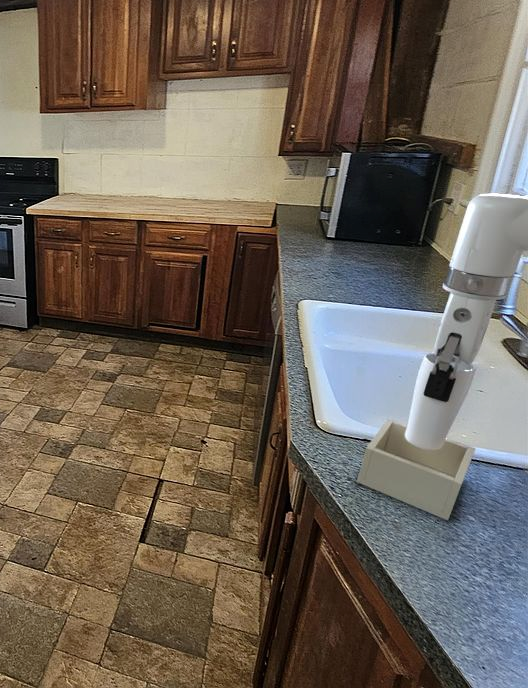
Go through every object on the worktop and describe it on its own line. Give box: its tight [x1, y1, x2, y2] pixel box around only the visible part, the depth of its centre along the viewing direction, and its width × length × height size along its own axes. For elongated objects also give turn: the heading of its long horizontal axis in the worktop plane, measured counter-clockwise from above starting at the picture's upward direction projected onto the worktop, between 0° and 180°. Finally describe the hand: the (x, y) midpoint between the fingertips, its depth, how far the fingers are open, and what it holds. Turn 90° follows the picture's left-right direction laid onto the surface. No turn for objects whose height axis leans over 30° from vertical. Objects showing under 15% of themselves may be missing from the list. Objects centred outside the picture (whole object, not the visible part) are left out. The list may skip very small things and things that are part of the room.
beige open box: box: [356, 418, 476, 521], centre depth 89 cm, size 13×13×7 cm
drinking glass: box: [405, 352, 477, 451], centre depth 84 cm, size 7×7×15 cm
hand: (440, 389), depth 83 cm, fingers closed on drinking glass, 6 cm apart
